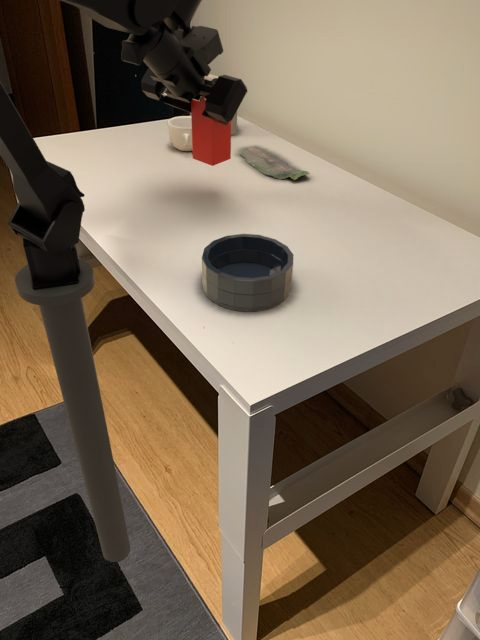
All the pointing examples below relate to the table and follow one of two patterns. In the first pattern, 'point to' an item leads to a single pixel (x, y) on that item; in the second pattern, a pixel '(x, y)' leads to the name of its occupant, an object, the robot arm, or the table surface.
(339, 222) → the table surface
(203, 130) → the soup carton
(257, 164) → the leaf
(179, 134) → the teacup
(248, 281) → the pot
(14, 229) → the robot arm
